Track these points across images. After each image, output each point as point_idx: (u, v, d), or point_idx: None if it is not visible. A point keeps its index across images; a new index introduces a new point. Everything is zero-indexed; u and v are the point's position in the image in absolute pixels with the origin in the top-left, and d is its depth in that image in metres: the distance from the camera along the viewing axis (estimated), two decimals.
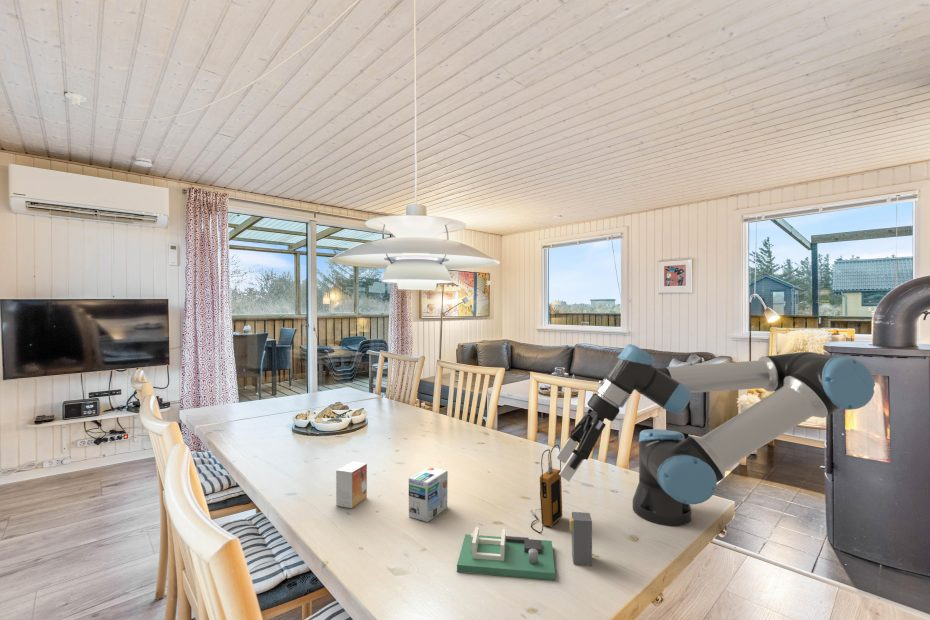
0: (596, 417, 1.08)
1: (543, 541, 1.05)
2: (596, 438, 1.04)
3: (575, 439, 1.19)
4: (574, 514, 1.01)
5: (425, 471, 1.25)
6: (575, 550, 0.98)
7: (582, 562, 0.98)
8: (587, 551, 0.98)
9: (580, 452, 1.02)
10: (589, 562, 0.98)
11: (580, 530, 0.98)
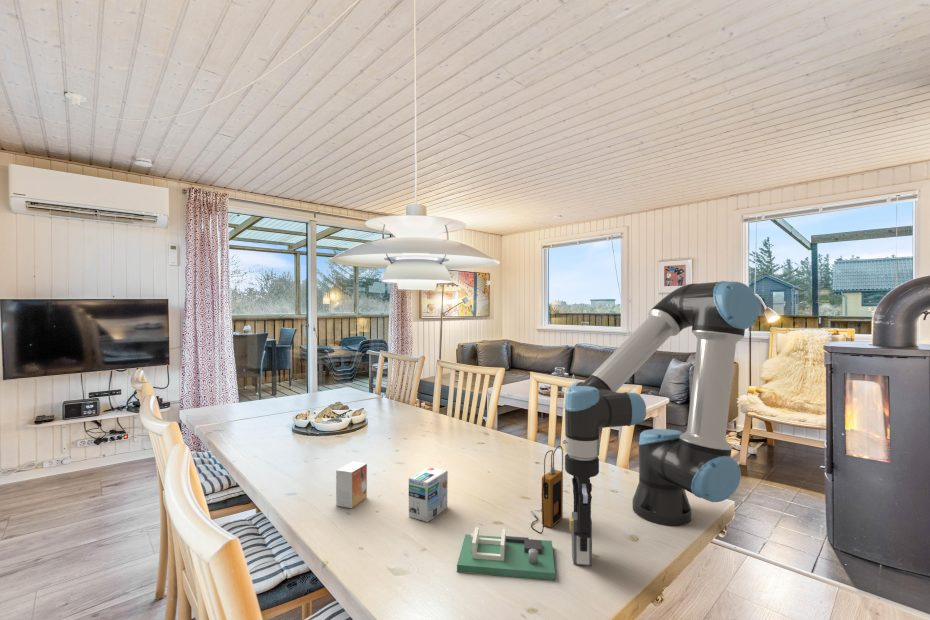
0: (580, 485, 0.96)
1: (543, 541, 1.05)
2: (589, 513, 0.94)
3: None
4: (574, 514, 1.01)
5: (425, 471, 1.25)
6: (575, 550, 0.98)
7: None
8: None
9: (580, 535, 0.94)
10: (589, 562, 0.98)
11: None
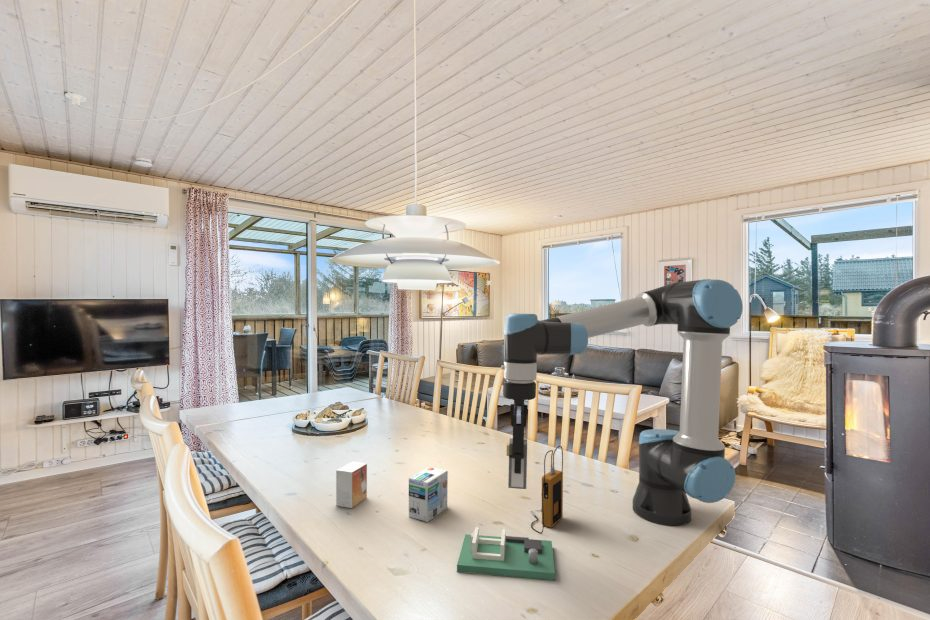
0: (515, 407, 0.96)
1: (543, 541, 1.05)
2: (522, 434, 0.94)
3: None
4: (511, 440, 1.01)
5: (425, 471, 1.25)
6: (510, 473, 0.98)
7: None
8: None
9: (513, 456, 0.95)
10: (523, 485, 0.98)
11: None
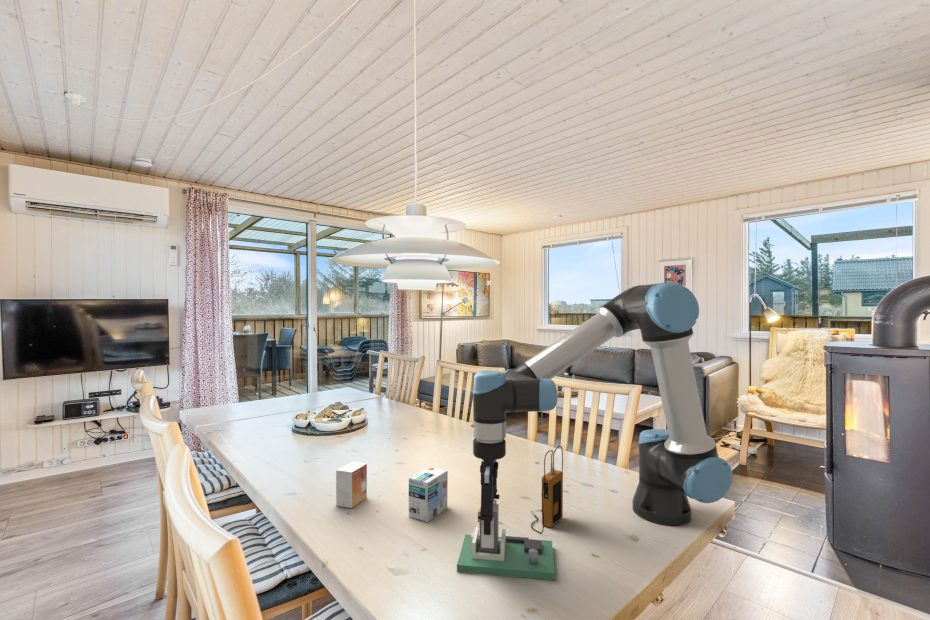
0: (484, 466, 0.97)
1: (543, 541, 1.05)
2: (490, 494, 0.94)
3: None
4: None
5: (425, 471, 1.25)
6: None
7: (488, 552, 0.99)
8: None
9: (482, 518, 0.93)
10: (494, 552, 0.99)
11: None
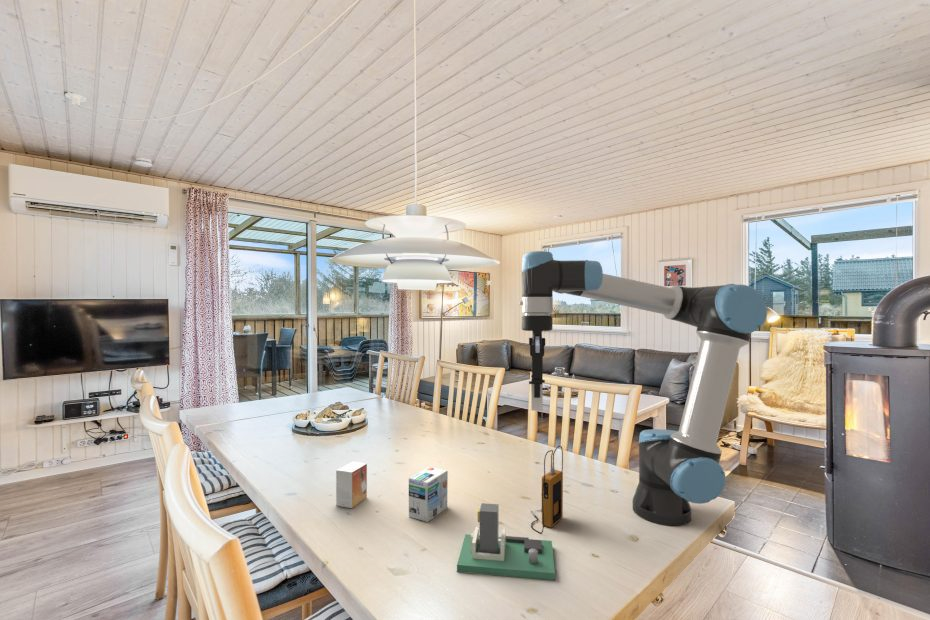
0: (533, 338, 1.04)
1: (543, 541, 1.05)
2: (541, 361, 1.03)
3: None
4: (482, 505, 1.02)
5: (425, 471, 1.25)
6: (481, 541, 0.99)
7: (488, 552, 0.99)
8: (493, 542, 0.99)
9: (533, 381, 1.04)
10: (494, 552, 0.99)
11: (486, 521, 0.99)
